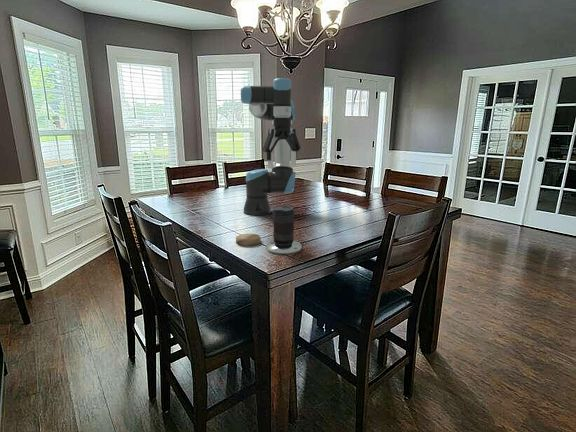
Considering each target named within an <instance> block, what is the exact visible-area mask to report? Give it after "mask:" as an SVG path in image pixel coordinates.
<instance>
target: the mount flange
mask: <svg viewBox="0 0 576 432" xmlns="http://www.w3.org/2000/svg"><path fill="white" fill-rule="evenodd" d="M302 246H303V245H302V243H300V242H299V241H296V240H293V243H292V247H290V248H278V247H276V246H275V242H274V240H271V241H269V242H267V243H266V244H265V250H266V251H267V252H268V253H270V254H273V255H274V254H275V255H284V256H285V255H293V254H296V253H299V252H300V251H301V250H302V249H303V248H302Z"/></svg>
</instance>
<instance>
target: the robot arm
mask: <svg viewBox="0 0 576 432" xmlns="http://www.w3.org/2000/svg"><path fill="white" fill-rule="evenodd" d="M272 83H273V85H266V86H265V85H243V86H241V88H240V101H241V103H242V104H244V105H245V104H246V105H248V109H249V112H250V114H251V115H252V116H254V118H257V119H259V120H262V121H271V124H272V125H273V127H274V128H268V130H267V131H268V134H267V137H266V138H265V139H266V140H265V141H264V144H263V148H262V152H264V153H266V161H267V168H260V169H259V168H258V169H253V170H250V171H247V172H246V173H245V185H246V186H245V187H246V188H245V189H246V194H245V195H246V199H245V203H244V206H243V213H244V214H245V215H249V216H264V215H265V216H266V215H269V214H271V213H272V206H271V204H270V201H269V194H284V195H286V194H292V193H293V192H294V190H295V183H296V174H297V173H296V171H294V168H293V167H296V166H297V157H298V152H299V151H300V150H301V145H300V142H299V139H298V136H297V133H296V128H290V127H291V126H292V125H293V121H295V119H296V112H295V110H296V109H295V104H294V101H293V99H292V81H291V79H290V78H287V77H284V78H283V77H281V78H280V77H278V78H275V79H274V80H273V82H272ZM273 151H274V153H273ZM292 166H293V167H292ZM268 169H271V171H269V170H268Z"/></svg>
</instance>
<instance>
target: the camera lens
mask: <svg viewBox="0 0 576 432" xmlns="http://www.w3.org/2000/svg"><path fill="white" fill-rule="evenodd" d="M272 210H273V211H272V222H273V223H272V224H273V228H272V229H273V241H274V242H275V246H276V247H278V248H290V247H292V243H293V241H294V238H295V233H294V230H295V225H294V222H295V211H294V207H292V206H288V205H287V206H286V205H285V206H282V205H281V206H276V207H273V209H272Z"/></svg>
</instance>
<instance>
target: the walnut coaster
mask: <svg viewBox="0 0 576 432" xmlns="http://www.w3.org/2000/svg"><path fill="white" fill-rule="evenodd" d="M261 241H262V240H261V236H260V234H257V233H242V234H238V235H237V236H235V244H236V245H237V244H238V246H241V247H255V246H257V245H259V244H261Z"/></svg>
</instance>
